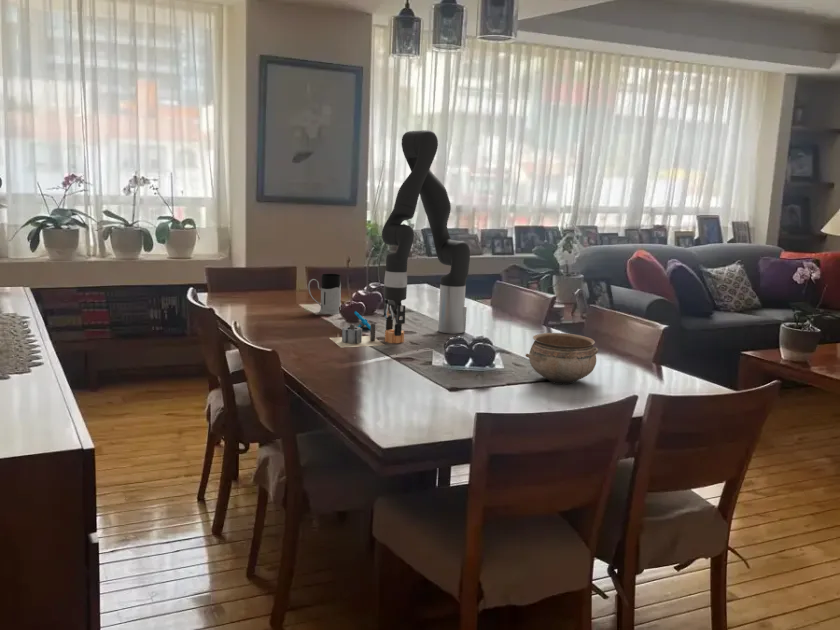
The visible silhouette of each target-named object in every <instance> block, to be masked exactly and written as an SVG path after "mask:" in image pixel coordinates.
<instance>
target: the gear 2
mask: <svg viewBox="0 0 840 630" xmlns="http://www.w3.org/2000/svg"><path fill="white" fill-rule="evenodd" d="M394 330H395V328H394V329H390V330H386V329H385V331H384V342H386V343H388V344H400V343H404V342H405V330H401V336H395V335H394Z"/></svg>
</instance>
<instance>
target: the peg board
mask: <svg viewBox="0 0 840 630" xmlns="http://www.w3.org/2000/svg"><path fill="white" fill-rule="evenodd" d="M370 326H371V330H370V329H369V330H370V331H369V332H370V334H369V335H362V342H360V343H358V344H356V343H355V344H349V343H343V342H342V336H340V337H339V336H338V337H329V339H330V340H331V341H332V342H333V343H335V344H336V345H337V346H338V347H339V348H342V349H343V348H356V347H357V348H358V347H360V348H362V347H378V346H379V347H380V346H385V344H384V343H383V342H382V341H380V340H378V339H377V338H376V323H375V322H371V323H370ZM349 327H350V329H353V330H354V329H355V327H356V326H355V324H354V323H350V324H349Z"/></svg>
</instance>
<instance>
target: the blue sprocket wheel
mask: <svg viewBox="0 0 840 630" xmlns="http://www.w3.org/2000/svg"><path fill="white" fill-rule="evenodd" d="M354 315H355V316H356V317H357V318H358V320H360V322H359V325H357V327H361V328H363V327H364V326H366V327H367V328H368V330H371V323H368V319H367V318H364V317H363V316H362V315H361V314H360V313H359V312H357V310H355V311H354Z"/></svg>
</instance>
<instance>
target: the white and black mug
mask: <svg viewBox="0 0 840 630" xmlns="http://www.w3.org/2000/svg"><path fill="white" fill-rule="evenodd" d="M313 281H315V282H317V283H316V284H317V288H318V290H320V302H319V301H317V300H316V299H315V298H314V297H313V295H312V292H311V286H310V285H311V282H313ZM341 287H342V283H341V274H339V273H322V274H321V286H320V282H319V281H318V280H317V279H315V278H312V279H310V280H309V282H308V287H307V290H308V293H309V295H310V297H311V298H312V300H314V301H315V303H317V304H318V305H319V306H320V309H319V313H320V314H323V315H339V314H340V313H339V306H340V307H341V301H342V300H341V298H342V297H341V293H342V290H341Z"/></svg>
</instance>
